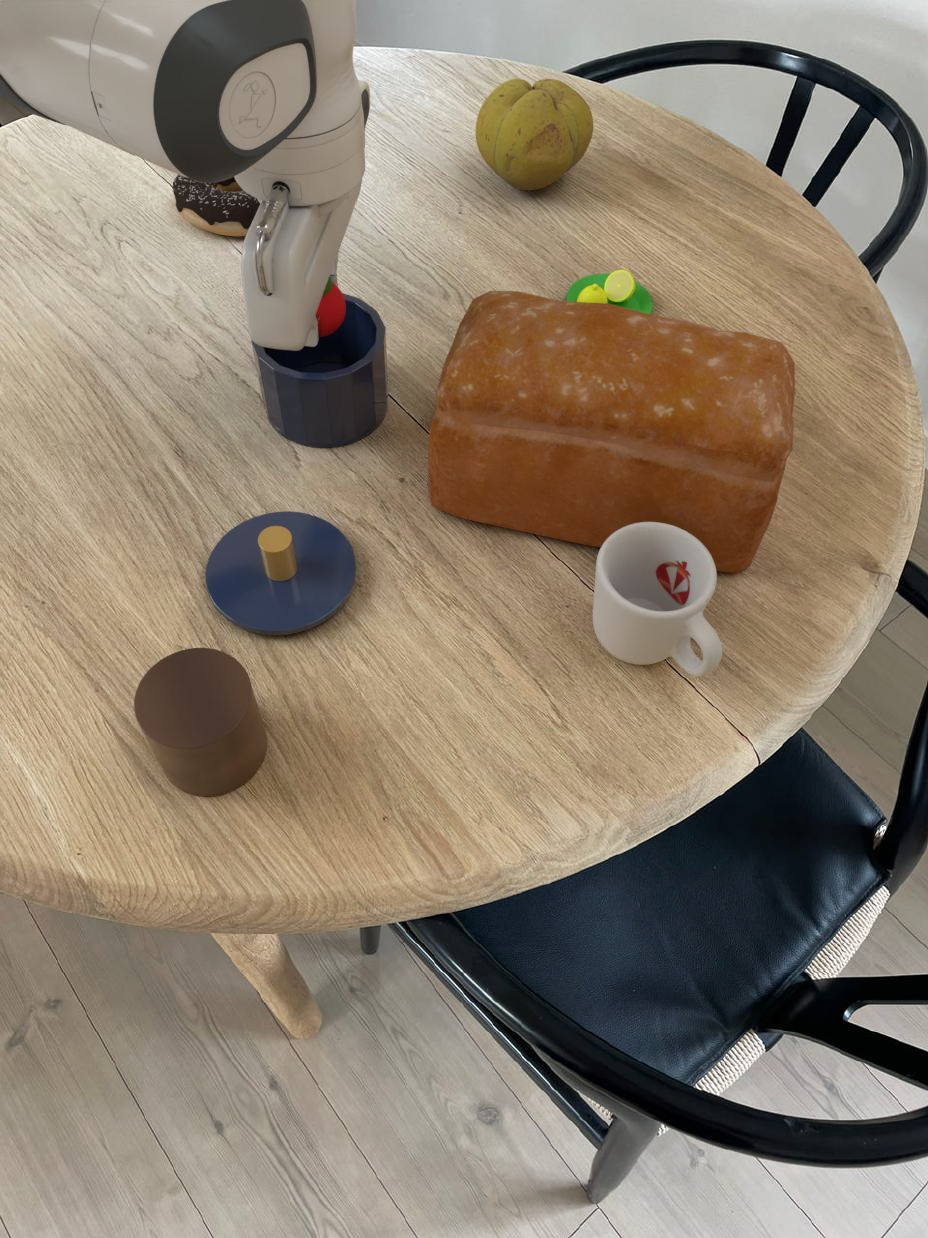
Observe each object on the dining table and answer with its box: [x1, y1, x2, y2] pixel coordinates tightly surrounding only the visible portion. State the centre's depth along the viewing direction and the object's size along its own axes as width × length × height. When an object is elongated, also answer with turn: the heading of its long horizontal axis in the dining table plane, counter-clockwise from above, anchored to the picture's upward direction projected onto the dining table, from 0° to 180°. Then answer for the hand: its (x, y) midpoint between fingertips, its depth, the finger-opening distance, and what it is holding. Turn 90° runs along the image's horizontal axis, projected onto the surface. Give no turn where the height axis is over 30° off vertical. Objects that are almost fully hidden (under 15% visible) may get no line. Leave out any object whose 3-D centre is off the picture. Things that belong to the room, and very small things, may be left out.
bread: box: [426, 290, 796, 574], centre depth 72 cm, size 14×26×16 cm, turn 76°
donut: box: [172, 174, 260, 237], centre depth 96 cm, size 11×12×4 cm
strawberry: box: [315, 276, 346, 337], centre depth 74 cm, size 4×4×5 cm
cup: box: [592, 522, 723, 678], centre depth 67 cm, size 11×8×8 cm
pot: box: [250, 292, 389, 449], centre depth 80 cm, size 10×10×8 cm
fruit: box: [475, 78, 594, 191], centre depth 98 cm, size 11×12×10 cm
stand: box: [133, 647, 268, 798], centre depth 62 cm, size 7×7×7 cm
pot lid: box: [204, 511, 357, 636], centre depth 71 cm, size 11×11×5 cm
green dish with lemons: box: [566, 269, 653, 315], centre depth 90 cm, size 8×8×3 cm
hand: (317, 316), depth 75 cm, fingers closed on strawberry, 4 cm apart
